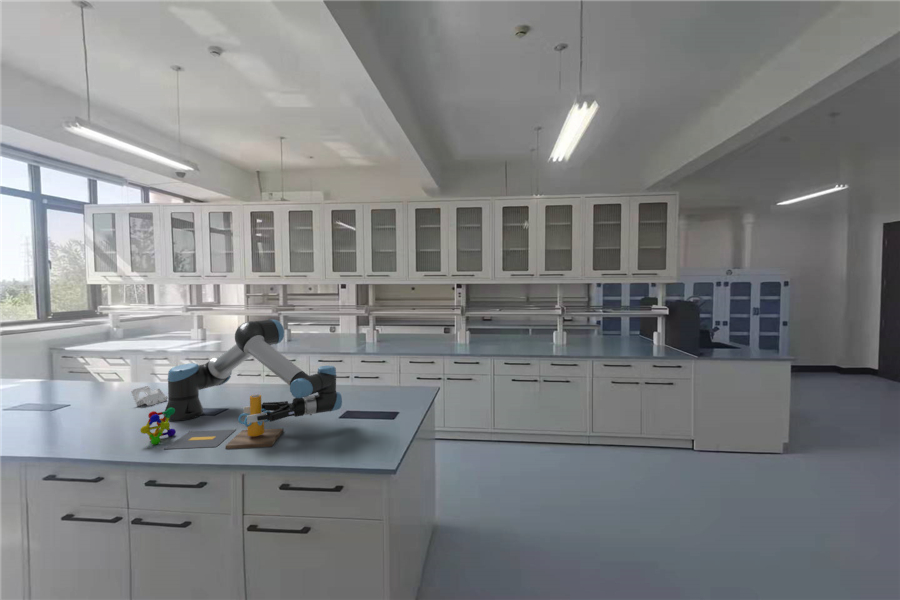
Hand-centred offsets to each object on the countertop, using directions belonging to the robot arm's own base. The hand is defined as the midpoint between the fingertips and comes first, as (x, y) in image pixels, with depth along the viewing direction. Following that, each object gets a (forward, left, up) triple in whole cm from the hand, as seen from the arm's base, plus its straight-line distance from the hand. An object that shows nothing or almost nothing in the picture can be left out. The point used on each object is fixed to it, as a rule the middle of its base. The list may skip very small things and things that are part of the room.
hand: (245, 414), depth 151 cm
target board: (-2, +3, -10) cm, 11 cm away
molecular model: (-6, -34, -11) cm, 36 cm away
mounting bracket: (-60, -67, -11) cm, 91 cm away
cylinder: (-2, +3, -8) cm, 9 cm away
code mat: (-5, -18, -10) cm, 21 cm away
